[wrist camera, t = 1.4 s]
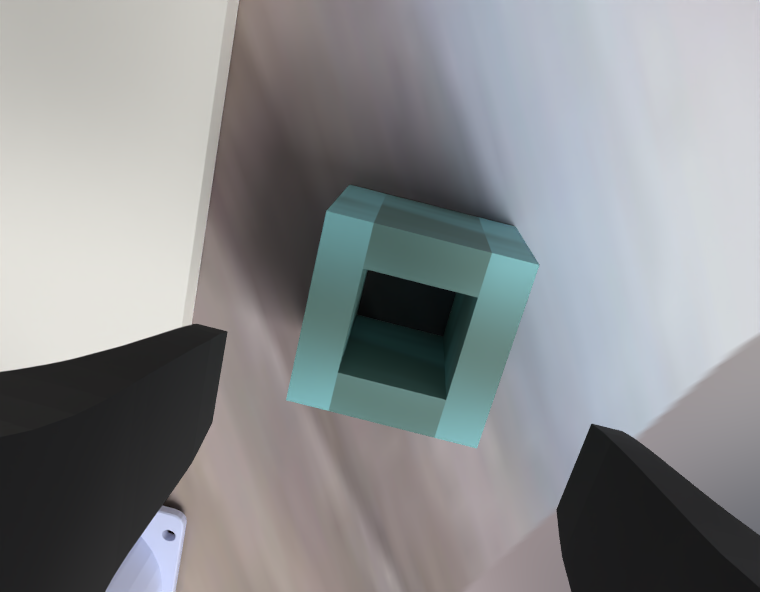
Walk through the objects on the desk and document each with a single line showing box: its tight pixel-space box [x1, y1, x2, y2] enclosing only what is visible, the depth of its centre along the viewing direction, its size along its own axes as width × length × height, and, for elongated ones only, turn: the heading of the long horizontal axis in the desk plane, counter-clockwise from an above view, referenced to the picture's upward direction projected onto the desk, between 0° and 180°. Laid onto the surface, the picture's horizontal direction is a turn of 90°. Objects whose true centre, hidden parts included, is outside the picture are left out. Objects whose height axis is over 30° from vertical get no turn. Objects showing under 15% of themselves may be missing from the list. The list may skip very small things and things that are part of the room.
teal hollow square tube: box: [286, 184, 539, 448], centre depth 18 cm, size 5×5×4 cm
